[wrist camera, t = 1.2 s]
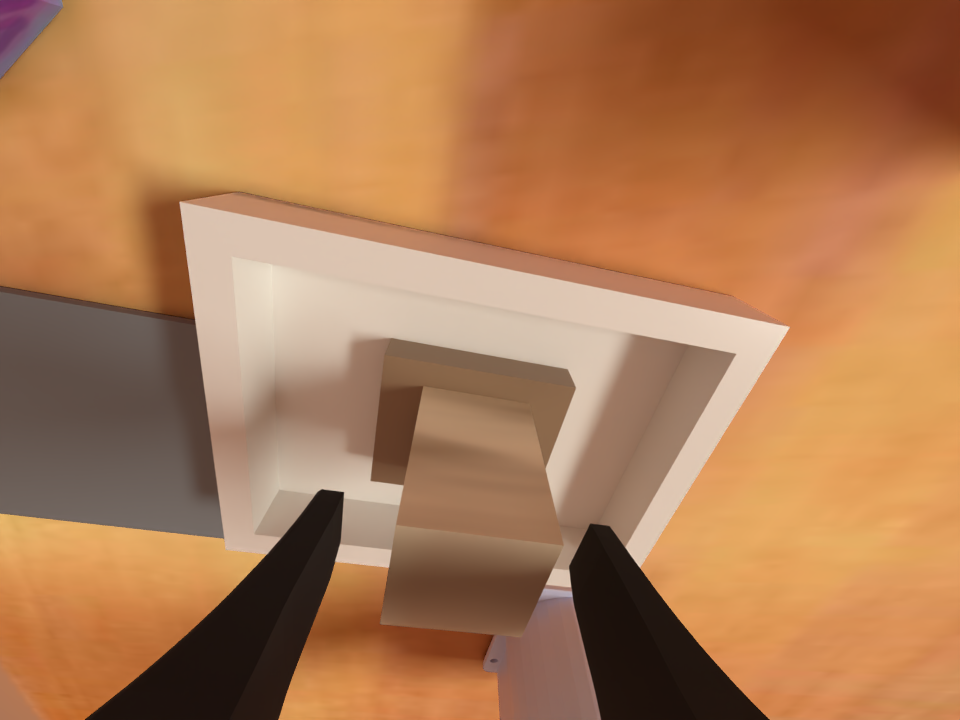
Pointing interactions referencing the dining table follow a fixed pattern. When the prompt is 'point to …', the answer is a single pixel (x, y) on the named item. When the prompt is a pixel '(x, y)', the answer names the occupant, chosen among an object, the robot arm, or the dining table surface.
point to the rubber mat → (104, 417)
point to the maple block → (472, 519)
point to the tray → (447, 369)
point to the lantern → (22, 26)
